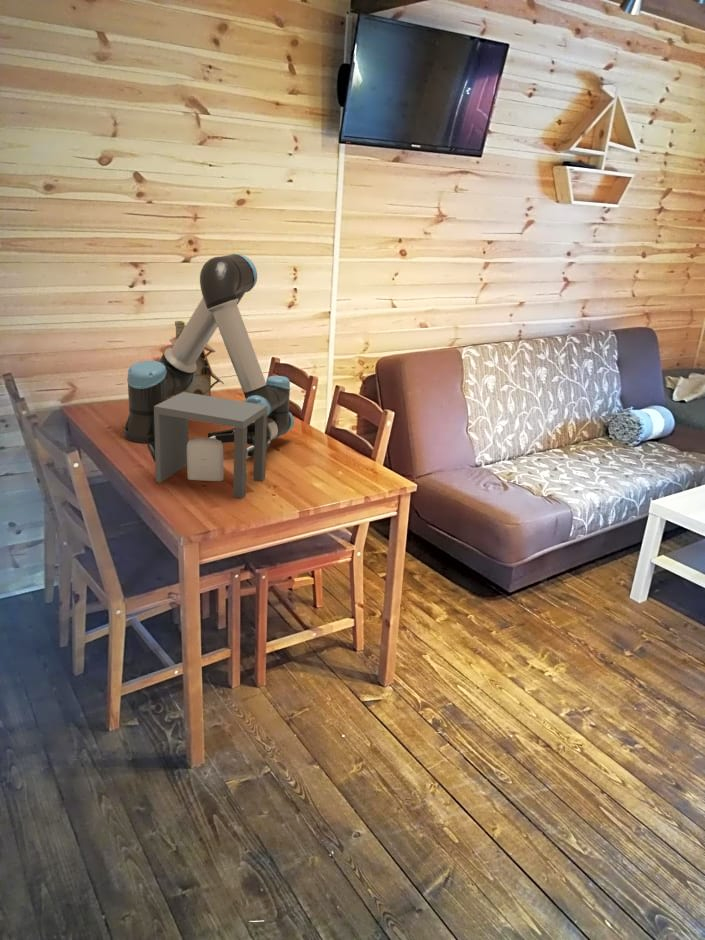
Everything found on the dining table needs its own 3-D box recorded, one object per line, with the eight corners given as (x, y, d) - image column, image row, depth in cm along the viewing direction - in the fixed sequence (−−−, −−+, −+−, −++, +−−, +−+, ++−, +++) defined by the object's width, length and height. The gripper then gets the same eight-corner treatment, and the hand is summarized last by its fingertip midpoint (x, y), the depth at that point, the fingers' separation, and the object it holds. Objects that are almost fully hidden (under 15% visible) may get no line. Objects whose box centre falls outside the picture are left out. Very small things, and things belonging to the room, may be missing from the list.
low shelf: (155, 481, 201) (153, 406, 192) (184, 463, 215) (183, 391, 207) (241, 498, 195) (243, 421, 186) (264, 478, 209) (267, 405, 201)
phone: (155, 459, 214) (147, 442, 226) (155, 463, 214) (147, 446, 227) (182, 457, 217) (172, 441, 229) (182, 461, 217) (172, 444, 230)
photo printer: (185, 480, 203) (185, 439, 198) (188, 475, 207) (188, 434, 202) (222, 483, 204) (222, 441, 199) (224, 477, 207) (224, 436, 203)
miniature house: (175, 420, 251) (174, 334, 240) (161, 400, 270) (159, 320, 259) (226, 416, 258) (227, 333, 247) (209, 397, 278) (209, 320, 267)
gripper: (294, 451, 222) (257, 473, 204) (227, 435, 232) (185, 454, 214) (295, 428, 220) (257, 448, 202) (227, 412, 229) (185, 430, 211)
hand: (220, 451), depth 208 cm, fingers open, 13 cm apart
